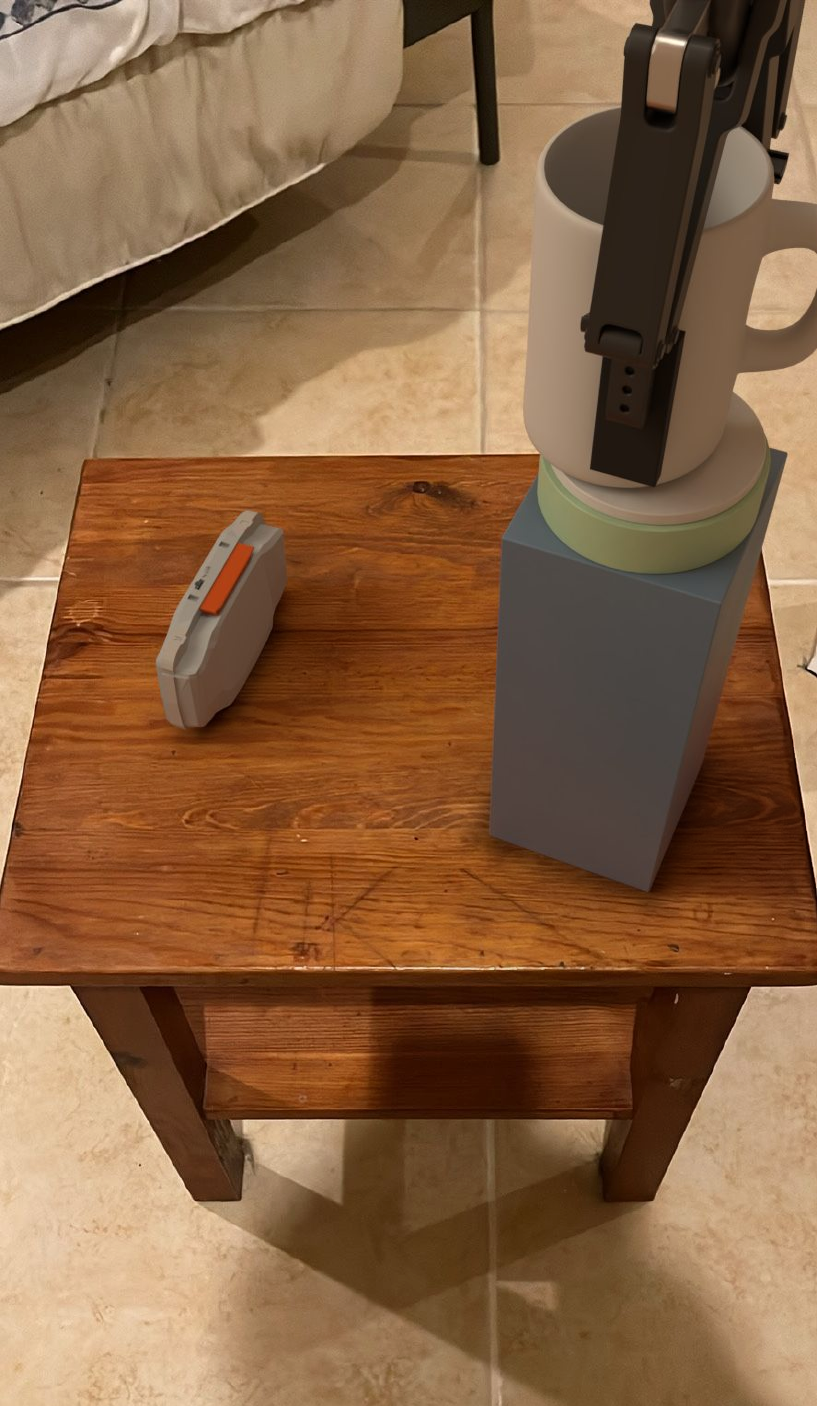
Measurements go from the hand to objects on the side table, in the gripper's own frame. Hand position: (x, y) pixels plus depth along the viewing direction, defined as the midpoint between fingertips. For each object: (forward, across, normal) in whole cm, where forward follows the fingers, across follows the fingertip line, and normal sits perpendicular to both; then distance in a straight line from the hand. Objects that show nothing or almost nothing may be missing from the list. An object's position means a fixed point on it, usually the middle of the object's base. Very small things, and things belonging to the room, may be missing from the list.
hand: (662, 399), depth 54 cm
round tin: (+5, 0, 0) cm, 5 cm away
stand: (+29, 0, 0) cm, 29 cm away
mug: (+2, -1, 0) cm, 2 cm away
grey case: (+29, -1, -25) cm, 39 cm away
